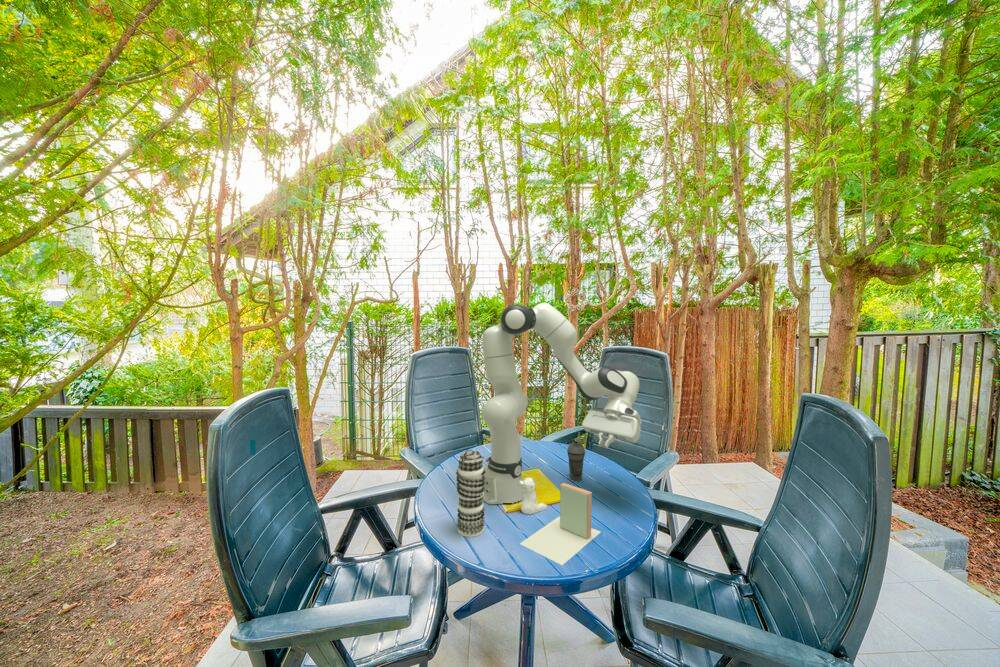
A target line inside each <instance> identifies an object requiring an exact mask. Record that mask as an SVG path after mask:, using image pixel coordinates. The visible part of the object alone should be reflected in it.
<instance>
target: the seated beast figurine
mask: <svg viewBox="0 0 1000 667" xmlns="http://www.w3.org/2000/svg"><path fill="white" fill-rule="evenodd" d="M520 485H521V486H522V488H523V489H524V494H523V499H522V500H521V501H520V507H519V508H520V510H521V511H520V512H522V513H523V514H524V515H534V514H536V513H539V512H542V511H544V510H546V509H548V505H547V504H546V503H544V502H540V503H538V501H537V500H538V499H537V498H538V495H537V494H536V491H535V489H536V486H537V485H536V483H535V481H534V480H533V479H532V478H531V477H526V478H524V479H523V480H522V481H520Z"/></svg>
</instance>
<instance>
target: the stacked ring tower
mask: <svg viewBox="0 0 1000 667" xmlns="http://www.w3.org/2000/svg"><path fill="white" fill-rule="evenodd" d="M484 458H485V456H484V455H483V454H481V453H480V451H478V450H474V449H472V450H471V449H470V450H465V451H463V452H462V453H461V454H460V455H458V457H457V459H458V467H457V469H456V472H455V474H456V482H457V483H456V492H457V493H456V494H457V497H458V507H457V517H458V518H457V532H459V533H458V534H459V535H460V534H461V535H460V536H463V537H466V538H475V537H478V536H480V535H482V534H483V533H484V532H485V517H484V516H485V512H484V511H485V507H484V501H483V496H484V490H485V488H484V487H483V486H484V484H485V482H484V479H485V477H484V476H483V475H484V474H485V470H484V465H483V463H484V461H483V459H484Z"/></svg>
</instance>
